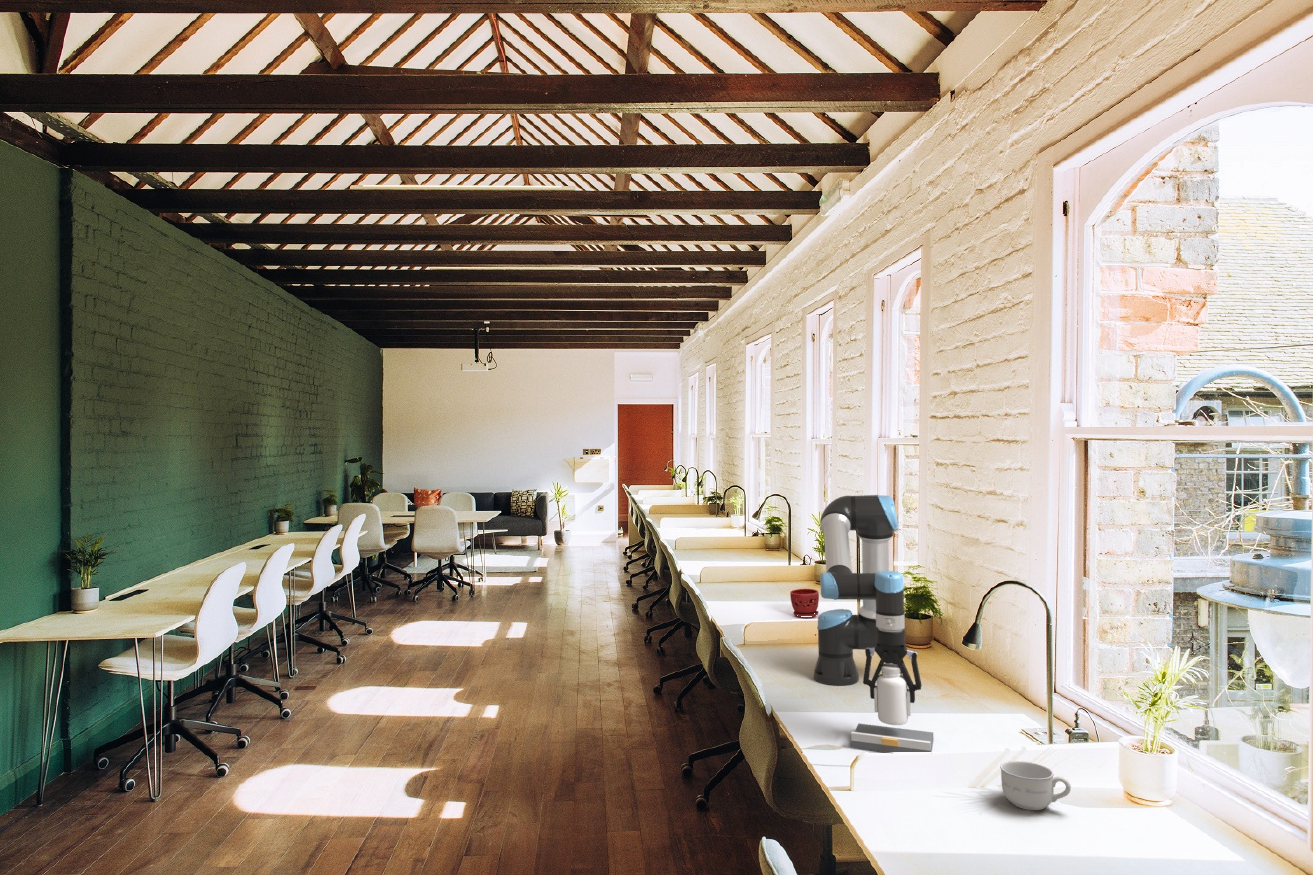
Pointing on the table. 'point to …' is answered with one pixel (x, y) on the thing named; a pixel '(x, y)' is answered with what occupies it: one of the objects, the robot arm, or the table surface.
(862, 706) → the table surface
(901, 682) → the pill bottle
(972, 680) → the table surface
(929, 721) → the table surface
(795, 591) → the plant pot
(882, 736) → the shelf
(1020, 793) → the teacup
